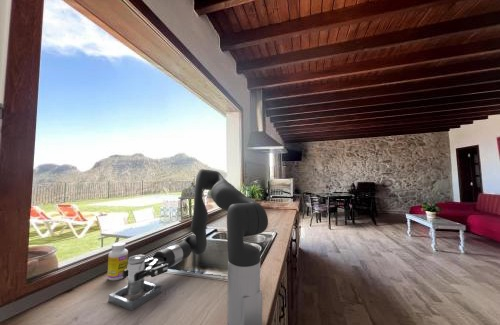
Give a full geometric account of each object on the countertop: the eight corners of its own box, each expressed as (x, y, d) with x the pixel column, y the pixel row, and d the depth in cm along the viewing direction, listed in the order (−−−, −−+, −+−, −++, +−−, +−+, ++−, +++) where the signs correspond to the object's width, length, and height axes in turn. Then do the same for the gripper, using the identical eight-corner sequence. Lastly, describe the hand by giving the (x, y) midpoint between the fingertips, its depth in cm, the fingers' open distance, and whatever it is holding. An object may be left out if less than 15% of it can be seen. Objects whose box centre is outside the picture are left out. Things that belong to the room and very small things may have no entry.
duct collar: (160, 292, 74) (160, 286, 74) (131, 310, 64) (131, 303, 64) (138, 284, 78) (138, 279, 78) (108, 301, 68) (108, 294, 68)
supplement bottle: (117, 282, 80) (119, 247, 81) (102, 280, 81) (104, 246, 82) (130, 273, 86) (132, 242, 87) (117, 272, 88) (118, 240, 88)
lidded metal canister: (145, 291, 70) (146, 258, 71) (127, 297, 67) (129, 262, 68) (143, 285, 75) (144, 253, 75) (126, 289, 72) (127, 256, 72)
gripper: (155, 245, 87) (115, 260, 72) (182, 250, 81) (144, 268, 66) (155, 263, 87) (114, 283, 72) (182, 270, 81) (144, 293, 66)
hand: (129, 276), depth 69 cm, fingers closed on lidded metal canister, 5 cm apart
